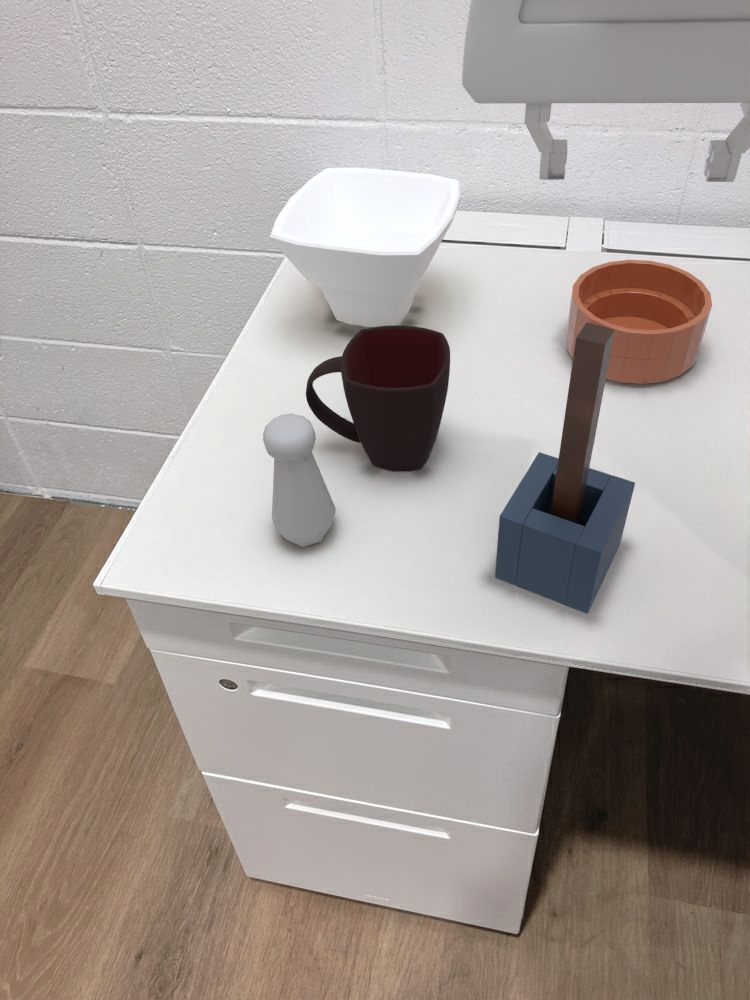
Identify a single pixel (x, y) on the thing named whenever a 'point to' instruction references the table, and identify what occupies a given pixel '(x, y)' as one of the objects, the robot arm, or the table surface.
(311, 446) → the salt shaker
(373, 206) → the bowl
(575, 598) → the box
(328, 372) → the mug
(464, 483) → the table surface
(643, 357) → the terracotta round dish
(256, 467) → the table surface
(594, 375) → the stirring stick
